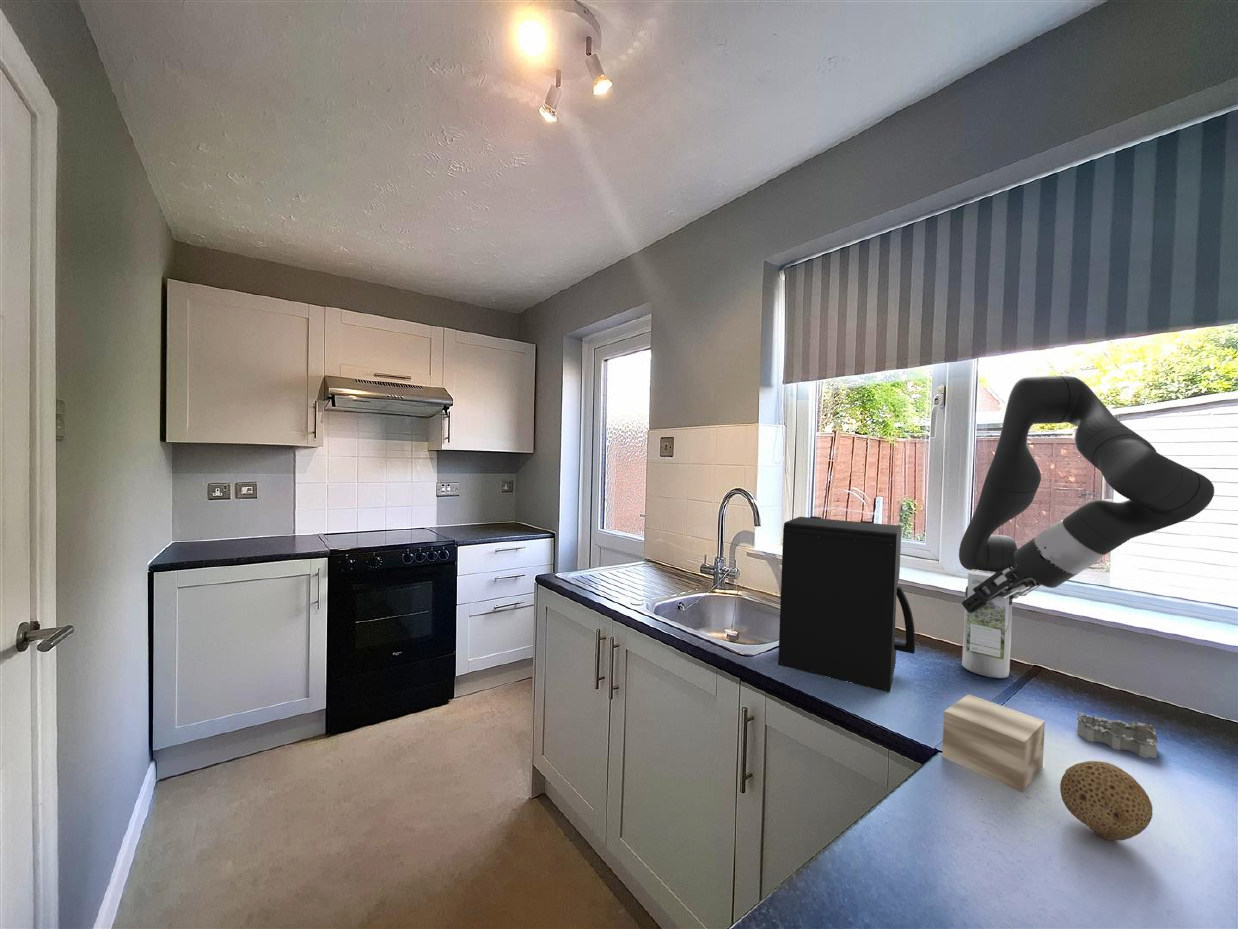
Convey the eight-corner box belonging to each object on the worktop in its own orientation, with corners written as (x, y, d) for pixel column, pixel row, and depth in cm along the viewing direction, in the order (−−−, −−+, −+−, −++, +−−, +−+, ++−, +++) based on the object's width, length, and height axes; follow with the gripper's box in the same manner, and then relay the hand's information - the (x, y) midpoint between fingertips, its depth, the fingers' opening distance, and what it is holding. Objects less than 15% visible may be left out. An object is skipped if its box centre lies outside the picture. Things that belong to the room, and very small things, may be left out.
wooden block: (966, 736, 92) (968, 694, 92) (1042, 768, 83) (1045, 720, 83) (942, 757, 86) (944, 711, 85) (1021, 793, 77) (1024, 742, 77)
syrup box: (1008, 653, 91) (1010, 573, 91) (1004, 661, 86) (1006, 577, 86) (970, 644, 94) (972, 568, 95) (964, 652, 90) (967, 571, 90)
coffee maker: (914, 667, 122) (921, 525, 122) (911, 698, 106) (918, 534, 105) (796, 641, 138) (801, 514, 137) (777, 665, 121) (783, 521, 120)
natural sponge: (1128, 873, 62) (1132, 794, 62) (1043, 823, 70) (1046, 753, 70) (1163, 852, 66) (1167, 777, 65) (1078, 807, 74) (1082, 740, 74)
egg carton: (1157, 748, 91) (1158, 726, 90) (1157, 765, 85) (1159, 741, 85) (1077, 723, 98) (1078, 703, 98) (1073, 737, 93) (1075, 716, 93)
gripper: (1060, 533, 87) (985, 585, 97) (1016, 536, 81) (940, 591, 91) (1099, 570, 82) (1015, 620, 93) (1055, 575, 76) (970, 629, 86)
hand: (978, 606), depth 92 cm, fingers closed on syrup box, 7 cm apart
